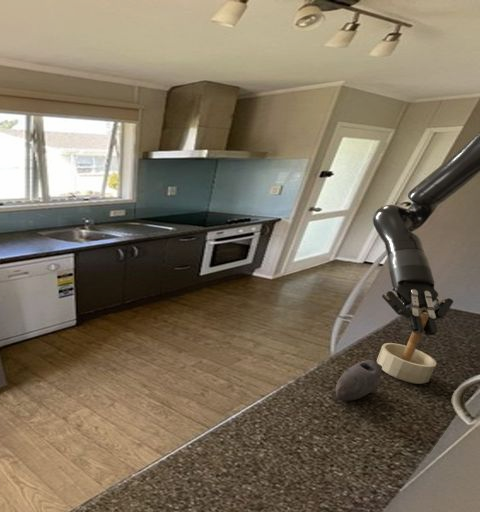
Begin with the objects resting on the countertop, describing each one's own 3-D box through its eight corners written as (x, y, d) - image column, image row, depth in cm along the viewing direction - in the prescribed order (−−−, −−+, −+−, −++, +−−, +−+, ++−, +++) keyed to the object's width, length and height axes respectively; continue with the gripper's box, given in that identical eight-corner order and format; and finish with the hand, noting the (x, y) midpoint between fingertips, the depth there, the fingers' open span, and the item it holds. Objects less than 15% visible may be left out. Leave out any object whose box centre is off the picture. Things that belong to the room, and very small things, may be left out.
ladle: (404, 367, 75) (427, 313, 70) (407, 372, 73) (431, 317, 69) (384, 362, 77) (404, 309, 72) (386, 366, 75) (407, 312, 71)
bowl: (421, 369, 76) (429, 351, 74) (433, 391, 69) (442, 372, 67) (373, 355, 81) (379, 338, 80) (379, 374, 74) (386, 356, 72)
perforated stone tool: (347, 411, 62) (356, 386, 60) (321, 394, 67) (329, 370, 65) (383, 391, 68) (392, 367, 66) (356, 377, 73) (365, 354, 71)
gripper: (386, 260, 75) (399, 324, 68) (455, 267, 71) (477, 335, 64) (369, 272, 82) (379, 331, 74) (431, 278, 78) (449, 342, 70)
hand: (424, 333), depth 69 cm, fingers closed on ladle
